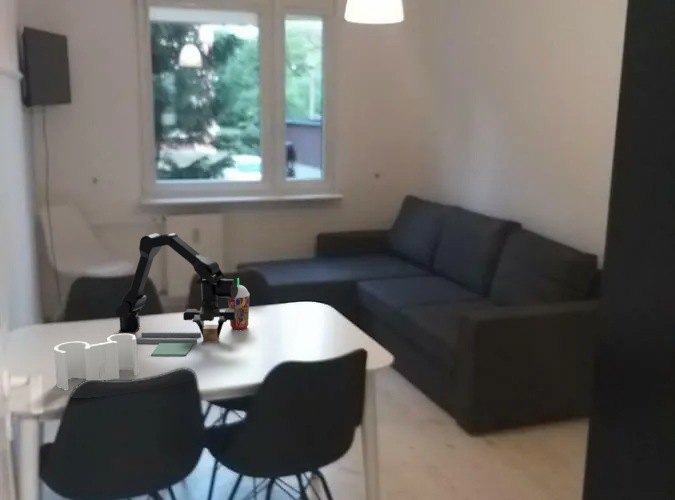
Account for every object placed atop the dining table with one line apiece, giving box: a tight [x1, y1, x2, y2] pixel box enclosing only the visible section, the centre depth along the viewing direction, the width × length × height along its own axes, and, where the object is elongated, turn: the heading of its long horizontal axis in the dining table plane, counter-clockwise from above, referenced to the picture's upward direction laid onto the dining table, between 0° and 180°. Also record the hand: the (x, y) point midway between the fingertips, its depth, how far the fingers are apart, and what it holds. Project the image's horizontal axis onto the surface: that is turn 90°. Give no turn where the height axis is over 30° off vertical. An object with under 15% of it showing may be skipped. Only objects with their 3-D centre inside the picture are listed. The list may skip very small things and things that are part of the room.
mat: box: [150, 343, 194, 357], centre depth 262 cm, size 12×12×1 cm
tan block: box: [202, 324, 220, 343], centre depth 273 cm, size 5×5×5 cm
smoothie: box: [227, 277, 250, 332], centre depth 285 cm, size 8×8×20 cm
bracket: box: [53, 333, 139, 391], centre depth 234 cm, size 25×10×12 cm, turn 124°
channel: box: [136, 331, 202, 344], centre depth 274 cm, size 22×8×2 cm, turn 89°
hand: (211, 337), depth 274 cm, fingers closed on tan block, 5 cm apart
